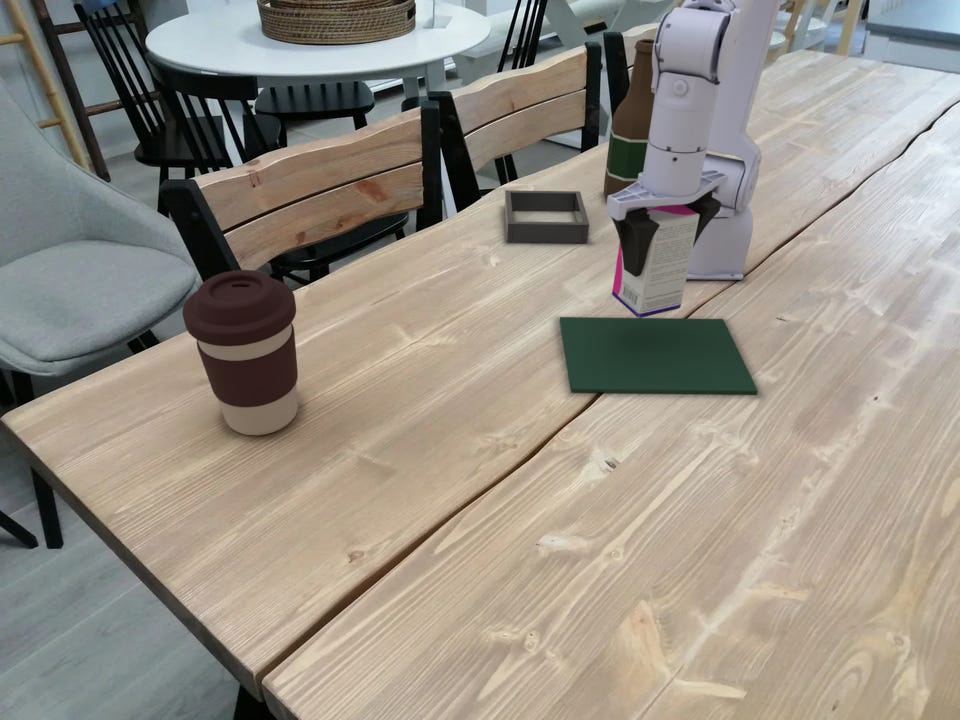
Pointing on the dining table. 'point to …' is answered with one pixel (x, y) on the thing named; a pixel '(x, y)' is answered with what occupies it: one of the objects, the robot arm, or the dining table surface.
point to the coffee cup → (247, 347)
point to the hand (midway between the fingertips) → (655, 265)
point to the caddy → (546, 230)
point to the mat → (653, 356)
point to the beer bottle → (631, 125)
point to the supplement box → (660, 264)
